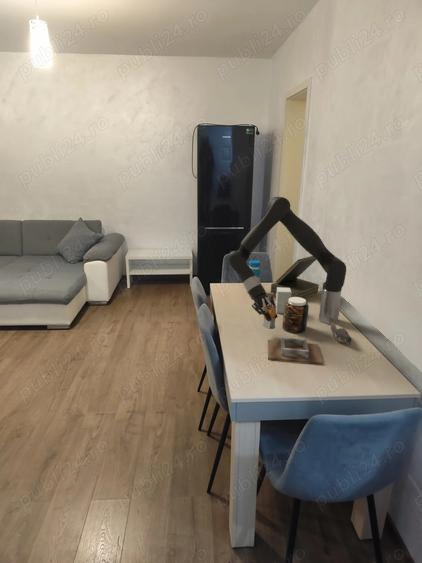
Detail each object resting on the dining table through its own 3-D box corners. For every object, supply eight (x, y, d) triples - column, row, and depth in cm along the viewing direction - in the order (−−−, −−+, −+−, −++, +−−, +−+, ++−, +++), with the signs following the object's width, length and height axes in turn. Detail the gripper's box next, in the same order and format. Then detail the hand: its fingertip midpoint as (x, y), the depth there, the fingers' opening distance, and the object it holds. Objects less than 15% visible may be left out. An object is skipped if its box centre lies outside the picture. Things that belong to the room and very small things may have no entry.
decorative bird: (342, 349, 162) (343, 339, 160) (320, 325, 185) (321, 316, 183) (355, 349, 162) (357, 338, 161) (332, 325, 186) (333, 316, 184)
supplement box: (288, 308, 205) (290, 287, 201) (289, 314, 198) (291, 292, 194) (274, 308, 205) (276, 286, 201) (275, 313, 198) (277, 291, 194)
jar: (306, 334, 174) (310, 305, 170) (281, 332, 177) (284, 303, 172) (305, 324, 185) (309, 296, 181) (282, 322, 188) (285, 294, 183)
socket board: (317, 346, 164) (318, 338, 163) (322, 364, 149) (323, 356, 148) (267, 341, 167) (268, 333, 165) (268, 359, 152) (268, 350, 150)
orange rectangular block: (262, 326, 171) (263, 306, 168) (267, 323, 174) (268, 304, 171) (270, 329, 168) (272, 309, 165) (275, 327, 170) (277, 307, 167)
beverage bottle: (255, 295, 223) (257, 264, 217) (243, 292, 228) (245, 261, 222) (262, 292, 230) (264, 261, 223) (250, 289, 234) (252, 258, 228)
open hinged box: (292, 285, 244) (296, 249, 236) (318, 294, 230) (323, 255, 222) (270, 293, 229) (273, 254, 222) (296, 302, 216) (300, 261, 208)
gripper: (248, 287, 165) (268, 320, 161) (268, 280, 174) (287, 311, 170) (239, 295, 170) (258, 327, 166) (258, 288, 180) (277, 318, 175)
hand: (273, 319), depth 168 cm, fingers closed on orange rectangular block, 3 cm apart
